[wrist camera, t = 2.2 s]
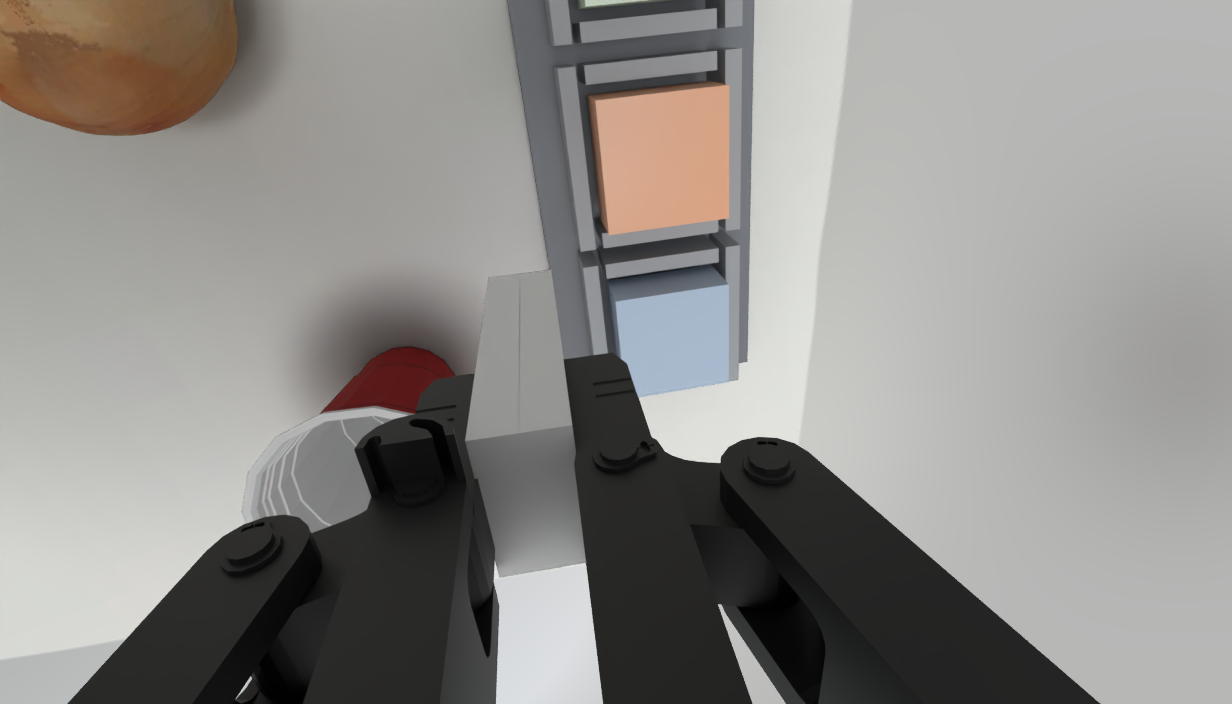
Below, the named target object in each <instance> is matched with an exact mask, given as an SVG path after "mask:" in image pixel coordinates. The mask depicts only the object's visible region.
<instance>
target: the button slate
mask: <svg viewBox="0 0 1232 704" xmlns="http://www.w3.org/2000/svg"><path fill="white" fill-rule="evenodd" d="M607 287H608V297H609V306H610V315H611V325H612V334H613V343H614V353H615V355H617V356H618V357H619V358H620V359H622V360H623V361H624V362H626V363H627V365H628V368H629V371H630V374H631V377H632V380H633V383H634V386H635V389H636V392H637V395H638V397H643V396H649V395H655V394H661V393H667V392H673V391H679V390H684V389H690V388H696V387H702V386H708V385H714V384H720V383H726V382H729V284H728V283H727V282H726V281H725V279H724V278H723V277H722V276H721V275H720V274H719V273H718V272H717V271H716V270H715V268H714V267H713V266H712V265H708V266H701V267H694V268H688V269H681V270H674V271H668V272H661V273H654V274H647V275H641V276H634V277H627V278H621V279H614V280H607Z"/></svg>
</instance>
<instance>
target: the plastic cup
mask: <svg viewBox="0 0 1232 704" xmlns="http://www.w3.org/2000/svg"><path fill="white" fill-rule="evenodd" d="M448 377H455V376H454V373H453V372H452V371H451V369H450V368H449V366H448V365H447V364H446V362H445V361H444V360H442V359H441V358H439V357H438V356H436V355H435V354H433V353H432V352H430V351H427V350H423V349H418V348H414V347H403V348H393V349H390V350H388V351H386V352H384V353H382V354H380V355H378V356H376V357H375V358H373V359H371V360H370V361H369V363H368V364H367V365H366V366H365V367H364V369H363V370H362V371H361V372H360V373H359V374H358V375H356V376H354V377H353V378H352V380H351V381H350V382H349V383H348V384H347V385H346V386H345V387H344V388H343V389H342V390H341V391H340V393H339V394H338V395H337V396H336V397H335V398H334V399H333V400H332V401H331V402H330V403H329V404H328V406H327V407H326V408H325V409H324V410H323V411H322V412H321V413H320V414H319V415H317V416H315V417H313V418H312V419H310V420H308V421H306V422H304V423H302V424H300V425H298V426H296V427H294V428H292V429H290V430H288V431H286V432H284V433H282V434H280V435H278V436H277V437H275V439H274V440H273V441H272V442H271V444H270V445H269V446H268V447H267V449H266V450H265V451H264V452H263V454H262V455H261V456H260V457H259V459H258V460H257V461H256V462H255V464H254V465H253V466H252V467H251V469H250V470H249V471H248V475H247V481H246V487H245V493H244V499H243V506H242V514H243V517H244V520H245V522H246V524H247V523H249V522H252V521H255V520H258V519H261V518H263V517H268V516H276V515H284V514H285V515H290V516H295V517H299V518H301V519H302V520H303V521H304V522H305V523H306V524H307V525H308V526H309V529H310V531H311V533H313V532H316V531H319V530H321V529H324V528H327V527H329V526H332V525H335V524H337V523H340V522H342V521H345V520H347V519H350V518H352V517H354V516H356V515H358V514H361V513H362V512H364V511H365V510H367V508H368V505H369V502H370V499H371V494H370V492H369V489H368V486H367V484H366V481H365V478H364V475H363V473H362V470H361V467H360V465H359V462H358V459H357V456H356V454H355V451H354V448H355V447H356V446H357V444H358V443H359V441H360V440H361V439H362V437H364V436H365V435H366V434H368V433H369V432H370V431H372V430H373V429H374V428H376V427H377V426H380V425H382V424H384V423H386V422H388V421H391V420H393V419H396V418H400V417H404V416H408V415H412V414H416V408H417V405H418V401H419V398H420V395H421V393H422V392H423V391H424V390H425V389H426V388H427V387H428V386H429V385H430V384H431V383H432V382H433V381H434V380H435V379H440V378H448Z"/></svg>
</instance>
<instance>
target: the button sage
mask: <svg viewBox="0 0 1232 704" xmlns="http://www.w3.org/2000/svg"><path fill="white" fill-rule="evenodd" d="M662 1H672V0H577V7H578V10H583V9H593V8H603V7H613V6H623V5H633V4H642V3H652V2H662Z"/></svg>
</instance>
